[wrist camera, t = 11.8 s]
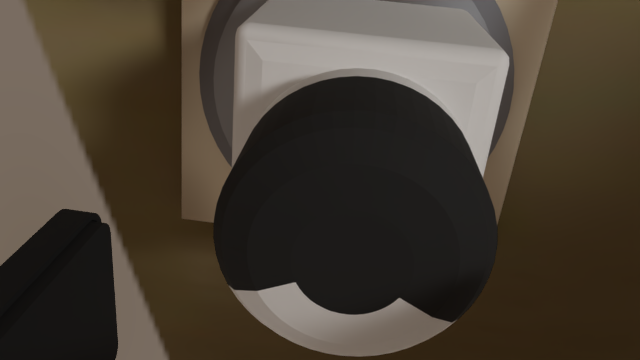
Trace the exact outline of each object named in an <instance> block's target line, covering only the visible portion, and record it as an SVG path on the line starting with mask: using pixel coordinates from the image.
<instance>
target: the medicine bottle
mask: <svg viewBox="0 0 640 360" xmlns="http://www.w3.org/2000/svg"><path fill="white" fill-rule="evenodd" d="M508 68H509V56H508V55H507V54H506V52H505V51H504V50H503V49H502V48H501V47H500V46H499V45H498V43H497V42H496V41H495V40H494V39H493V38H492V37H491V36H490V35H489V34H488V33H487V32H486V31H485V30H484V29H483V28H482V26H481V25H480V24H479V23H478V22H477V21H476V20H475V19H474V18H473V17H472V16H471V15H470V14H469V13H468V12H467V11H466V10H463V9H457V8H447V7H438V6H428V5H418V4H409V3H399V2H390V1H380V0H268V1H267V2H265V3H264V4H263V5H262V6H261V7H260V8H259V9H258V10H257V11H256V12H255V13H253V14H252V15H251V16H250V17H249V18H248V19H247V20H246V21H245V22H244V23H243V24H241V25H240V26H239V27H238V28H237V31H236V35H235V65H234V103H233V140H232V170H231V172H230V173H229V175H228V177H227V179H226V181H225V183H224V185H223V187H222V190H221V193H220V195H219V198H218V201H217V205H216V210H215V216H214V244H215V251H216V256H217V259H218V262H219V265H220V269H221V271H222V273H223V275H224V277H225V279H226V281H227V284H228V285H229V287H230V288H231V290H232V291H233V293H234V294H235V296H236V297H237V299H238V300H239V301H240V302H241V303H242V305H243V306H244V307H245V308H246V309H247V310H248V311H249V312H250V313H251V314H252V315H253V316H254V317H255V318H256V319H258V320H259V321H260V322H261V323H262V324H264V325H265V326H267V327H268V328H270V329H271V330H273V331H274V332H275V333H277V334H278V335H280V336H282V337H284V338H286V339H288V340H290V341H291V342H293V343H296V344H298V345H301V346H303V347H306V348H309V349H312V350H315V351H319V352H323V353H327V354H334V355H341V356H358V357H361V356H376V355H382V354H387V353H393V352H396V351H400V350H403V349H407V348H410V347H412V346H414V345H417V344H419V343H421V342H424V341H426V340H428V339H430V338H431V337H433V336H435V335H437V334H438V333H440V332H442V331H443V330H445V329H446V328H448V327H449V326H450V325H451V324H453V323H454V322H455V321H457V320H458V319H459V318H460V317H461V316H462V315H463V314H464V313H465V312H466V311H467V310H468V309H469V308H470V307H471V305H472V304H473V303H474V301H475V300H476V299H477V297H478V296H479V295H480V293H481V292H482V290H483V288H484V286H485V284H486V282H487V280H488V278H489V276H490V273H491V270H492V267H493V264H494V261H495V255H496V249H497V221H496V215H495V209H494V206H493V203H492V200H491V197H490V194H489V192H488V189H487V187H486V184H485V182H484V180H483V176H484V171H485V167H486V163H487V158H488V154H489V150H490V145H491V141H492V137H493V133H494V128H495V124H496V120H497V115H498V111H499V107H500V102H501V98H502V94H503V90H504V85H505V81H506V77H507V72H508Z"/></svg>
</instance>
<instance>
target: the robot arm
mask: <svg viewBox="0 0 640 360" xmlns="http://www.w3.org/2000/svg"><path fill="white" fill-rule="evenodd" d="M117 349H118V337H117V323H116V307H115V292H114V278H113V262H112V247H111V232H110V227H109V225H108V224H106V223H101V219H100V217H99V215H98V214H96V213H90V212H83V211H76V210H69V209H62V210H60V211H59V212H58V213H57V214H55V216H54V217H52V218H51V219H50V220H49V221H48V222H47V223H46V224H45V225H44V226H43V227H42V228H41V229H40V230H38V232H36V233H35V234H34V235H33V236H32V237H31V238H30V239H29V240H28V241H27V242H26V243H25V244H24V245H22V246H21V247H20V248H19V249H18V250H17V251H16V252H15V253H14V254H13V255H12V256H11V257H10V258H9V259H7V260H6V261H5V262H4V263H3V264H2V265H1V266H0V360H115V358H116V355H117Z"/></svg>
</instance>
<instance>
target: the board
mask: <svg viewBox="0 0 640 360" xmlns="http://www.w3.org/2000/svg"><path fill="white" fill-rule="evenodd" d="M267 1H268V0H182V219H188V220H196V221H204V222H211V223H214V216H215V210H216V205H217V201H218V198H219V195H220V193H221V190H222V187H223V185H224V183H225V181H226V179H227V177H228V175H229V173H230V172H231V170H232V140H233V103H234V65H235V35H236V31H237V28H238V27H239V26H240V25H241V24H243V23H244V22H245V21H246V20H247V19H248V18H249V17H250V16H251V15H252V14H253V13H255V12H256V11H257V10H258V9H259V8H260V7H261V6H262V5H263V4H264V3H265V2H267ZM380 1H390V2H399V3H409V4H418V5H428V6H438V7H447V8H457V9H463V10H466V11H467V12H468V13H469V14H470V15H471V16H472V17H473V18H474V19H475V20H476V21H477V22H478V23H479V24H480V25H481V26H482V28H483V29H484V30H485V31H486V32H487V33H488V34H489V35H490V36H491V37H492V38H493V39H494V40H495V41H496V42H497V43H498V45H499V46H500V47H501V48H502V49H503V50H504V51H505V52H506V54H507V55H508V56H509V68H508V72H507V77H506V81H505V85H504V90H503V94H502V98H501V102H500V107H499V111H498V115H497V120H496V124H495V128H494V133H493V137H492V141H491V145H490V150H489V154H488V158H487V163H486V167H485V171H484V176H483V180H484V182H485V184H486V187H487V189H488V192H489V194H490V197H491V200H492V203H493V206H494V209H495V215H496V221H497V225H498V221H499V217H500V213H501V210H502V206H503V202H504V199H505V195H506V191H507V187H508V184H509V180H510V176H511V173H512V169H513V165H514V162H515V158H516V154H517V150H518V147H519V143H520V139H521V136H522V132H523V128H524V124H525V121H526V117H527V113H528V110H529V106H530V102H531V99H532V95H533V91H534V87H535V84H536V80H537V76H538V73H539V69H540V65H541V61H542V58H543V54H544V50H545V47H546V43H547V39H548V36H549V32H550V28H551V24H552V21H553V17H554V13H555V10H556V6H557V2H558V0H380Z"/></svg>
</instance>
